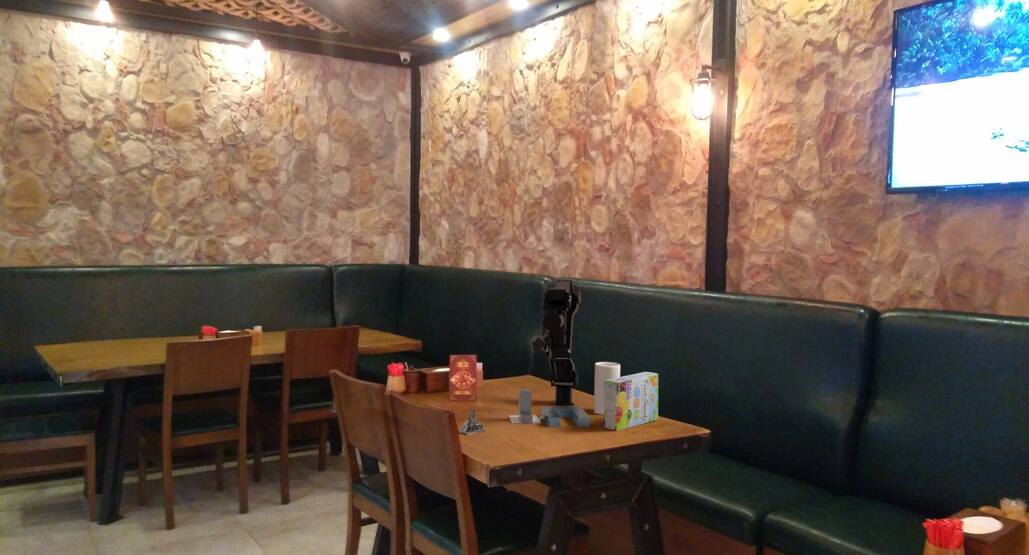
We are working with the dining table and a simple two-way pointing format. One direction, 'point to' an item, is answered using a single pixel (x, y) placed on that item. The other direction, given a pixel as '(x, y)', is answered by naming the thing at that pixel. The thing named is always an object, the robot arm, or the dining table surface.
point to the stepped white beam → (525, 405)
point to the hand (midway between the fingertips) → (555, 376)
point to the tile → (516, 420)
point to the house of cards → (471, 424)
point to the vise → (564, 415)
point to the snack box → (630, 400)
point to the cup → (603, 373)
